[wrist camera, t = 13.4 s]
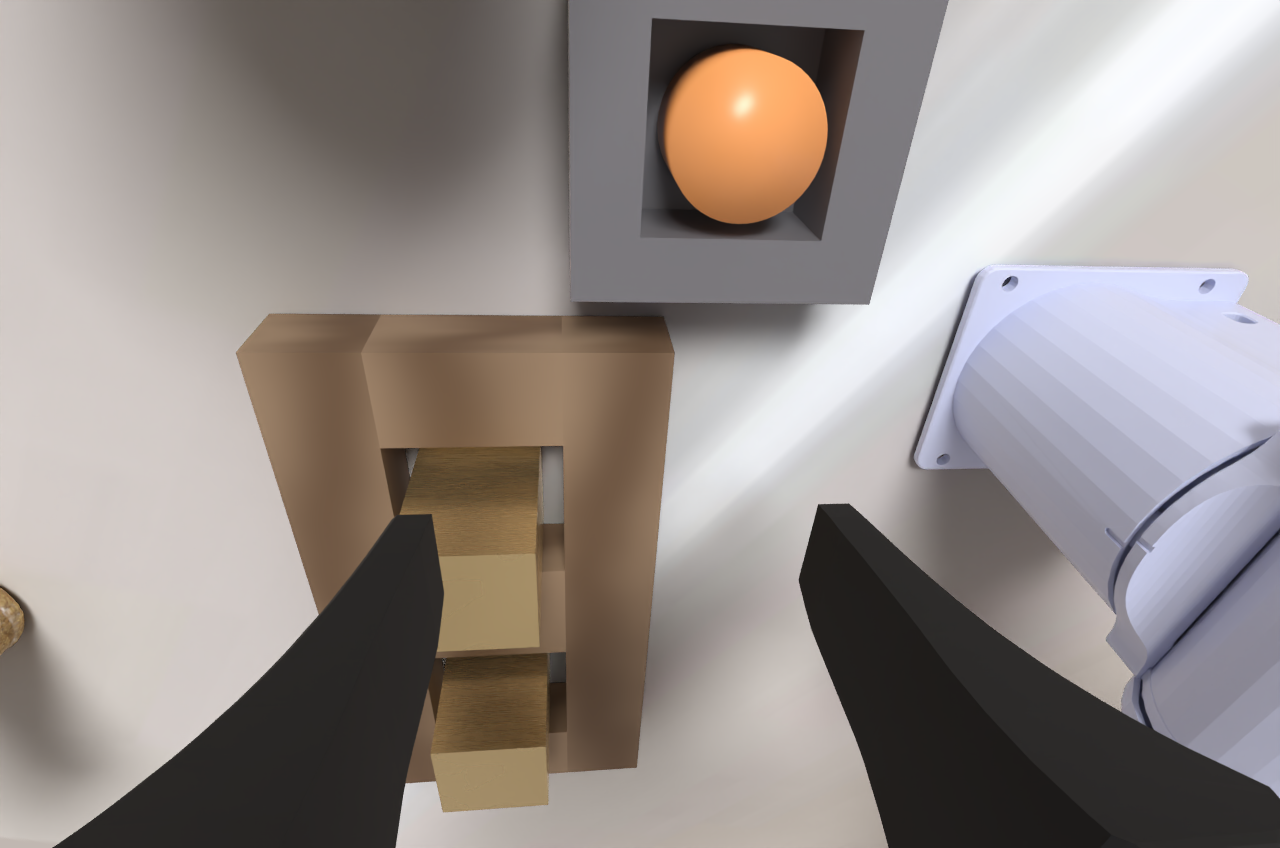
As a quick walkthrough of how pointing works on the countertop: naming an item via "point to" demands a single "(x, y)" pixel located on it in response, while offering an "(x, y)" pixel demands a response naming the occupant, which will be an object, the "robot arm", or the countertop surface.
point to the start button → (742, 132)
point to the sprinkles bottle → (9, 621)
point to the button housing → (650, 197)
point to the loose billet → (484, 541)
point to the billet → (493, 732)
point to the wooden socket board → (486, 417)
